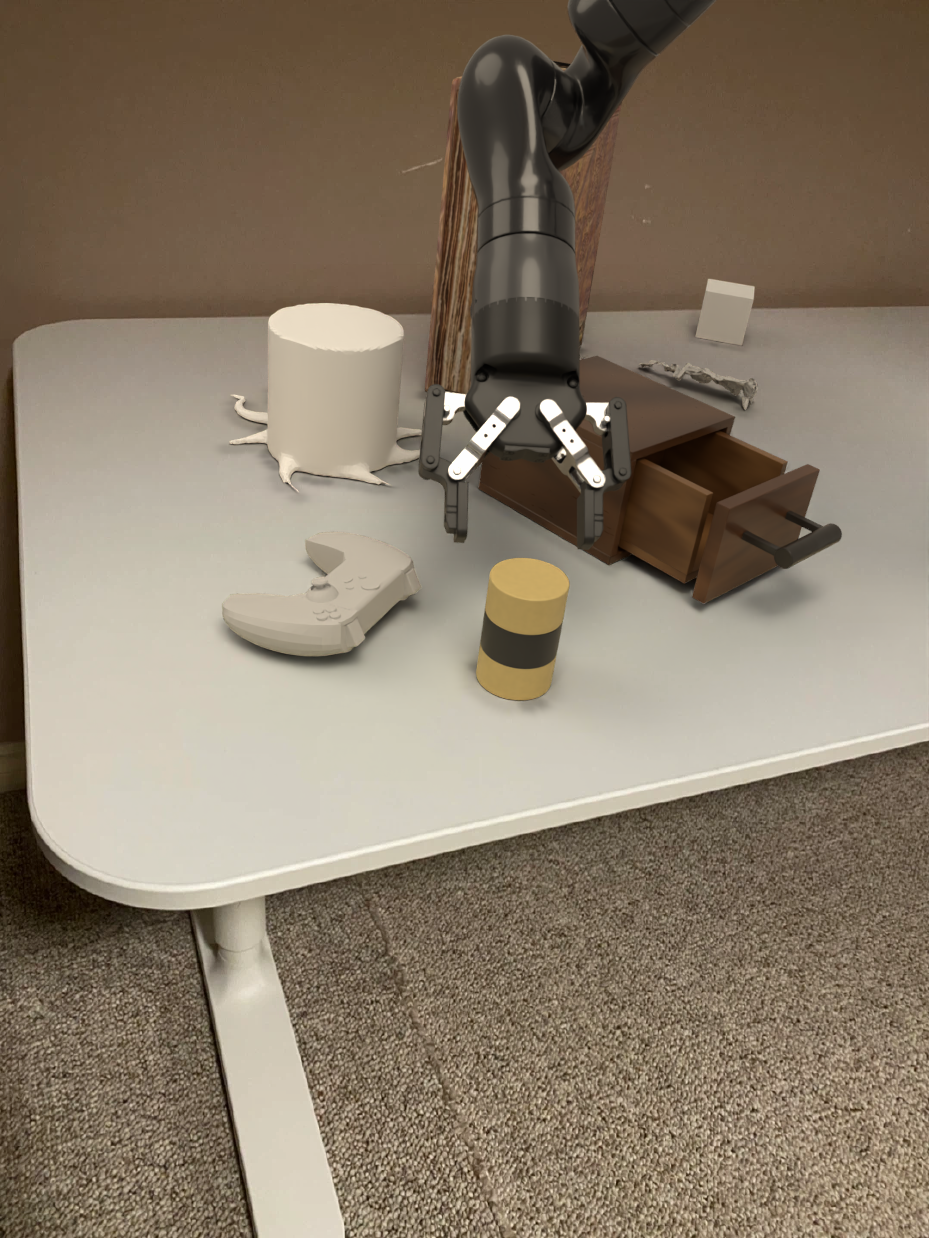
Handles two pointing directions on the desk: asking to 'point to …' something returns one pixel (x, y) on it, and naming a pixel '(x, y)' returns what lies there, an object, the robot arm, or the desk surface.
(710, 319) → the beige rectangular block
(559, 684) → the desk surface
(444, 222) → the book
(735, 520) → the drawer
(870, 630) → the desk surface
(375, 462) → the tree stump
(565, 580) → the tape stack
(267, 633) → the game controller
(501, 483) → the cabinet
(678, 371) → the grey figurine
